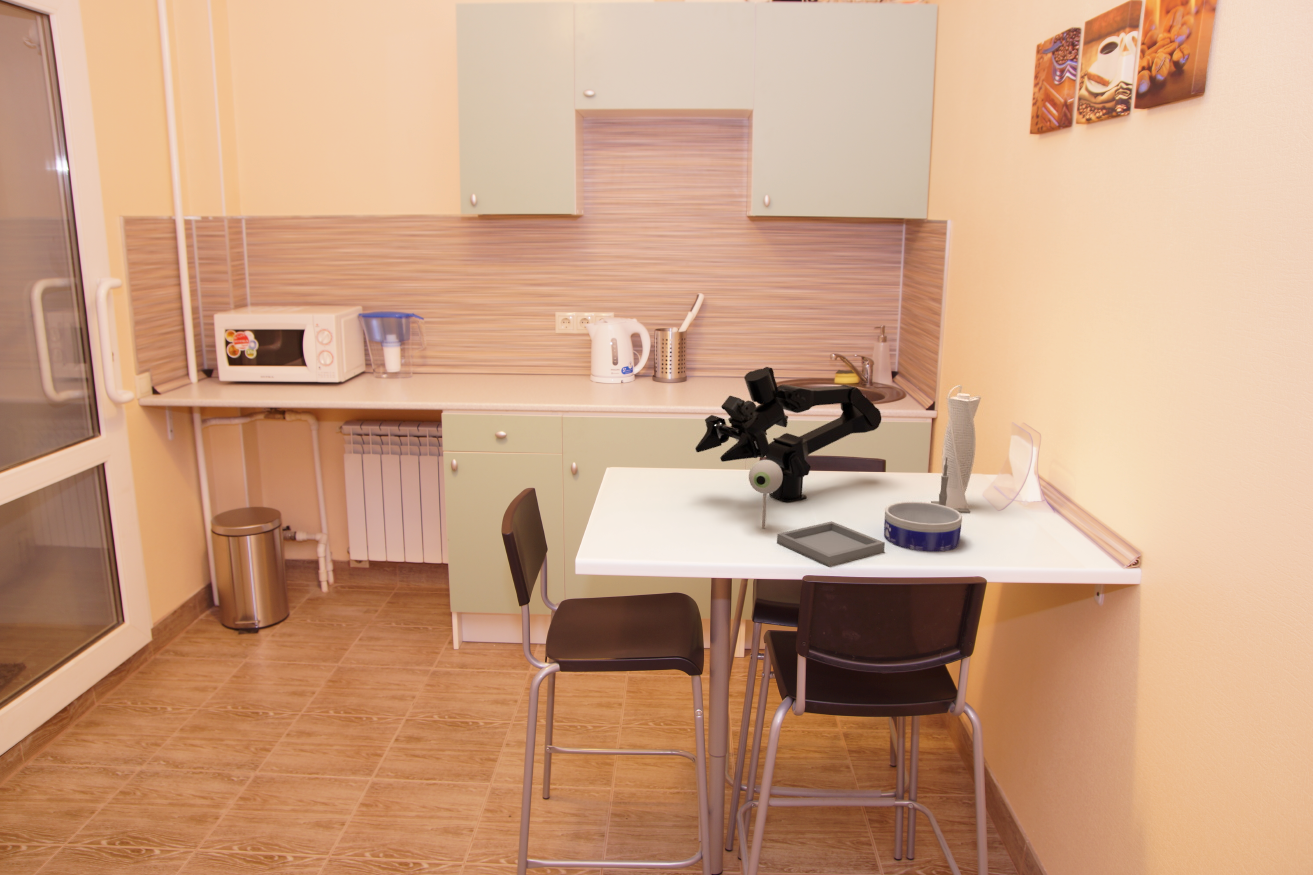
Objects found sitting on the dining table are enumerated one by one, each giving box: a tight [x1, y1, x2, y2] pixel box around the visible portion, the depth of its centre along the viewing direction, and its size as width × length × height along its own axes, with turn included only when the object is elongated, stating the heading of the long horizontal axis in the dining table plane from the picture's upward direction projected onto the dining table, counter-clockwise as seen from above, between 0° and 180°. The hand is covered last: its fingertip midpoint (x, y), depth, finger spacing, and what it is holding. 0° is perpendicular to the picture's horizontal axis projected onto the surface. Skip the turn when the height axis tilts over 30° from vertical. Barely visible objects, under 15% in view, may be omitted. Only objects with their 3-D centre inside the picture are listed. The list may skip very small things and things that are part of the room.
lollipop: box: [748, 459, 783, 529], centre depth 192 cm, size 7×7×15 cm
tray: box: [776, 521, 886, 567], centre depth 183 cm, size 15×15×2 cm
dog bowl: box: [883, 501, 963, 553], centre depth 188 cm, size 15×15×6 cm
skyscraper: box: [930, 384, 982, 514], centre depth 207 cm, size 8×8×28 cm
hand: (708, 454), depth 200 cm, fingers open, 9 cm apart
